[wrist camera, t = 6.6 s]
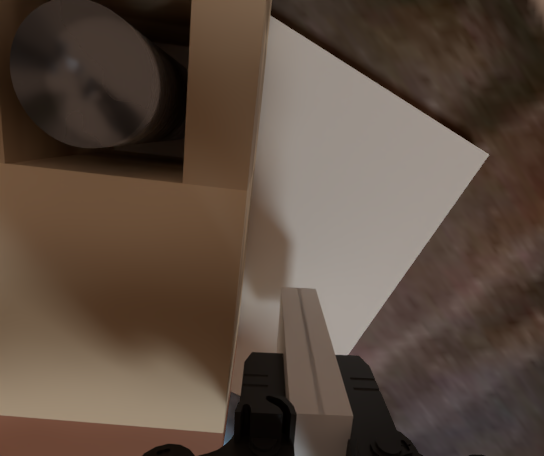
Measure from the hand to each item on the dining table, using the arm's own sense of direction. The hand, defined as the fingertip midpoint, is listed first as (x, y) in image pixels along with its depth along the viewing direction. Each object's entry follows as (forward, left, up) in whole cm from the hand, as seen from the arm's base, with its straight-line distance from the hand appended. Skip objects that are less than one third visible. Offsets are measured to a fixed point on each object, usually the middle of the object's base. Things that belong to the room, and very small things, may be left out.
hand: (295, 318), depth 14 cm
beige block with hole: (-7, +2, -1) cm, 8 cm away
